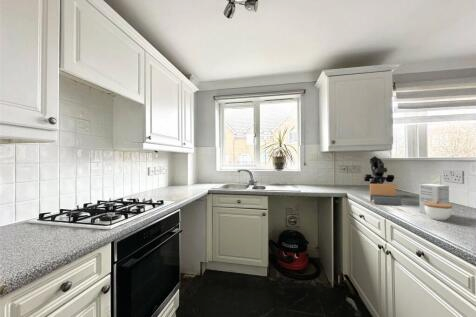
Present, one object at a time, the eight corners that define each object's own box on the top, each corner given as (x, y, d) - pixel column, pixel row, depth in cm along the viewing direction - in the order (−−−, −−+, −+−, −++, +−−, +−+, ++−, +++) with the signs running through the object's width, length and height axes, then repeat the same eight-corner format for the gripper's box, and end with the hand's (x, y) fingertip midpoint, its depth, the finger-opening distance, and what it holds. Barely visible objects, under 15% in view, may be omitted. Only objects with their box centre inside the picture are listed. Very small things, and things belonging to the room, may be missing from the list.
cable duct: (370, 201, 151) (370, 194, 151) (395, 202, 146) (395, 195, 146) (374, 203, 143) (374, 196, 143) (401, 205, 138) (401, 198, 138)
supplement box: (430, 211, 123) (430, 183, 123) (449, 215, 114) (449, 185, 114) (418, 212, 120) (418, 183, 120) (437, 216, 111) (437, 185, 111)
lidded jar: (443, 216, 112) (443, 199, 112) (458, 222, 101) (458, 203, 101) (419, 215, 114) (419, 198, 114) (431, 220, 104) (431, 202, 104)
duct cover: (370, 194, 151) (369, 194, 152) (395, 195, 146) (394, 195, 147) (370, 183, 150) (369, 183, 152) (395, 184, 146) (395, 184, 147)
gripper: (364, 163, 158) (369, 179, 147) (393, 164, 152) (400, 180, 142) (362, 173, 165) (366, 188, 155) (389, 173, 160) (395, 190, 149)
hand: (381, 186), depth 150 cm, fingers closed
